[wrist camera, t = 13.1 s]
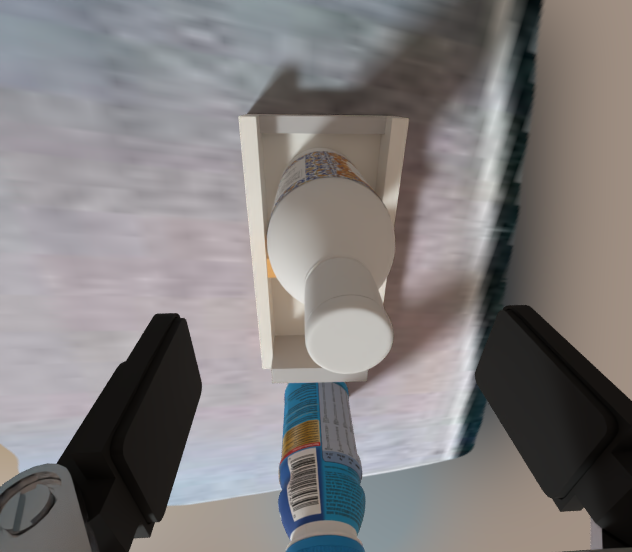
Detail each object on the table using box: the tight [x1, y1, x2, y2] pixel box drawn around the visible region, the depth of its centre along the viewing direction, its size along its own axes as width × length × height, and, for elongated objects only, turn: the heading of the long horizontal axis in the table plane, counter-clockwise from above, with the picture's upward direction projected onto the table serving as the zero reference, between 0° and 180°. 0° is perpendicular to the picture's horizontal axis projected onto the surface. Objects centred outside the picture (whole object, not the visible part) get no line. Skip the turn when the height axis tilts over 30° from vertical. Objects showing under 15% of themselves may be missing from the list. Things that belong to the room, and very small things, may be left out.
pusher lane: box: [238, 114, 409, 383], centre depth 29 cm, size 24×12×6 cm, turn 179°
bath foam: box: [267, 148, 395, 374], centre depth 19 cm, size 7×7×20 cm
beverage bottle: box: [278, 382, 365, 552], centre depth 33 cm, size 8×8×20 cm
